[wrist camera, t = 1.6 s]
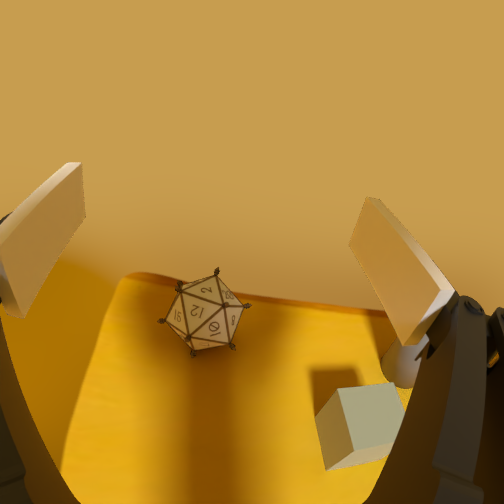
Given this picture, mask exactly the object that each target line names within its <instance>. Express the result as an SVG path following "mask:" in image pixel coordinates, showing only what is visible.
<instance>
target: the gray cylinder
mask: <svg viewBox="0 0 504 504" xmlns="http://www.w3.org/2000/svg"><path fill="white" fill-rule="evenodd" d="M428 341H429V339H428V337H427V335H426V334H425V335H424V336H423V338H422V339H421V340H420V342H419V343H418V344H417V345H409V346H402V344H401V342H400V340H399V338H398V336H397V338H396V339H395V341H394V342H393V344H392V345H391V346H390V348H389V349H388V350H387V352H386V353H385V355H384V356H383V357H382V360H381V369H382V372H383V374H384V376H385V377H386V379H387V380H388V381H389V382H390V383H391V382H394V385H395V386H396V387H399V388H403V389H409V388H412V387H414V384H415V380H416V377H417V373H418V370H419V366H420V362H421V358H422V357H421V358H419V359H418V360H417V361H415V360H414V359H415V358H416V356H417V355H418V354H419V353H420V351H421V350H422V349H423V348H424V346H425V345H426V344H427V342H428Z"/></svg>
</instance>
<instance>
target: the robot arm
mask: <svg viewBox="0 0 504 504" xmlns="http://www.w3.org/2000/svg"><path fill="white" fill-rule="evenodd" d="M85 217H86V216H85V205H84V192H83V176H82V163H71V162H68V163H66V164H65V165H64V166H63V167H61V168H60V169H59V170H58V171H57V172H55V173H54V174H53V175H52V176H51V177H50V178H48V179H47V180H46V181H45V182H44V183H43V184H42V185H41V186H40V187H38V188H37V189H36V190H35V191H34V192H33V193H32V194H31V195H30V196H29V197H27V198H26V199H25V200H24V201H23V202H22V203H21V204H20V205H19V206H18V207H17V208H16V209H15V210H14V211H13V212H11V213H10V214H8V215H6V216H5V217H3V218H2V219H1V220H0V303H1V302H2V304H3V306H4V308H5V311H6V313H7V315H11V316H15V317H19V318H24V317H25V315H26V313H27V312H28V310H29V308H30V306H31V304H32V302H33V300H34V298H35V297H36V295H37V292H38V291H39V289H40V288H41V286H42V284H43V282H44V281H45V279H46V277H47V276H48V274H49V272H50V271H51V269H52V267H53V266H54V264H55V262H56V261H57V259H58V258H59V256H60V254H61V253H62V251H63V250H64V248H65V247H66V245H67V244H68V242H69V241H70V239H71V238H72V236H73V235H74V233H75V232H76V230H77V229H78V227H79V226H80V225H81V223H82V222H83V220H84V219H85ZM349 246H350V248H351V249H352V251H353V253H354V255H355V257H356V258H357V260H358V262H359V264H360V265H361V267H362V269H363V271H364V273H365V274H366V276H367V278H368V280H369V281H370V283H371V285H372V287H373V289H374V291H375V293H376V295H377V297H378V298H379V300H380V302H381V304H382V306H383V308H384V310H385V312H386V314H387V316H388V318H389V320H390V322H391V324H392V326H393V328H394V330H395V332H396V334H397V336H398V338H399V340H400V342H401V344H402V346H409V345H417V344H418V343H419V342H420V340H421V339H422V338H423V336H424V335H425V334H426V335H427V337H428V339H429V341H428V342H427V344H426V345H425V346H424V348H423V349H422V350H421V351H420V353H419V354H418V355H417V356H416V358H415V359H414V360H415V361H417V360H418V359H419V358H421V357H422V358H421V362H420V366H419V370H418V373H417V377H416V380H415V384H414V387H413V390H412V393H411V397H410V400H409V403H408V406H407V409H406V412H405V415H404V417H403V420H402V423H401V426H400V428H399V431H398V434H397V436H396V439H395V441H394V444H393V446H392V449H391V451H390V454H389V456H388V458H387V461H386V463H385V465H384V467H383V470H382V472H381V474H380V476H379V478H378V480H377V482H376V484H375V486H374V488H373V490H372V492H371V494H370V496H369V497H368V498H367V500H366V501H365V502H364V503H362V504H504V308H500V307H499V308H497V309H496V310H495V312H494V313H493V314H492V316H488V315H485V313H484V310H483V309H482V307H481V306H480V305H479V304H478V302H477V301H475V300H474V299H472V298H470V297H468V296H459V294H458V293H457V292H456V290H455V289H454V288H453V286H452V285H451V284H450V282H449V281H448V280H447V278H446V277H445V276H444V274H443V273H442V272H441V270H439V268H438V266H437V265H436V264H435V263H434V261H433V260H432V259H431V258H430V257H429V256H428V254H427V253H426V252H425V251H424V250H423V248H422V247H421V246H420V245H419V244H418V242H417V241H416V240H415V239H414V238H413V236H412V235H411V234H410V233H409V232H408V230H407V229H406V228H405V227H404V226H403V225H402V224H401V222H400V221H399V220H398V219H397V218H396V217H395V216H394V215H393V213H392V212H391V211H390V210H389V209H388V208H387V207H386V206H385V205H384V204H383V203H382V202H381V200H380V199H375V198H370V197H366V200H365V202H364V205H363V208H362V211H361V213H360V216H359V219H358V221H357V224H356V227H355V229H354V232H353V235H352V237H351V240H350V242H349ZM497 353H498V354H499V357H498V358H497V359H496V360H495V361H494V362H493V363H492V364H491V366H490V365H489V362H490V361H491V360H492V359H493V358H494V356H495V355H496V354H497ZM0 504H81V503H80V502H79V501H78V500H77V499H76V498H75V497H74V495H73V494H72V492H71V491H70V489H69V488H68V486H67V484H66V483H65V481H64V479H63V478H62V476H61V474H60V473H59V471H58V469H57V467H56V465H55V464H54V462H53V460H52V458H51V456H50V454H49V452H48V450H47V449H46V446H45V444H44V442H43V440H42V438H41V436H40V434H39V432H38V430H37V427H36V425H35V423H34V421H33V418H32V416H31V414H30V411H29V409H28V406H27V404H26V401H25V399H24V396H23V394H22V391H21V388H20V385H19V382H18V380H17V376H16V373H15V370H14V367H13V364H12V361H11V357H10V354H9V350H8V347H7V343H6V339H5V335H4V332H3V327H2V323H1V318H0Z"/></svg>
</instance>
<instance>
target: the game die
mask: <svg viewBox="0 0 504 504" xmlns="http://www.w3.org/2000/svg"><path fill="white" fill-rule="evenodd" d="M219 272H220V271H219V267H218V268H216V269H215V272H214V275H213V276H210V277H207V278H204V279H200V280H197V281H194V282H190V283H187V284H184V285H183V283H182V281H178V280H177V284H178V285H179V286H175V291H177V292H178V293H177V295H176V297H175V299H174V301H173V303H172V305H171V307H170V310H169V312H168V314H167V316H166V318H165V319H163V318H162V319H159V320H158V321H157V322H158V323H164V322H166V323H167V324H168V325H169V326H170V327H171V328H172V329H173V330H174V331H175V332H176V333H177V334H178V336H179V337H180V338H181V339H182V340H183V341H184V342H185V343H186V344H187V345H188V346H189V347H190V348H191V349H192V351H191V357H192V358H193V357H194V356H196V355H195V354H196V350H202V349H208V348H213V347H219V346H224V345H229V348H231V349H232V350H236V348H235V345H234V344H232V343H231V342H232V339H233V336H234V333H235V331H236V328H237V325H238V323H239V320H240V317H241V314H242V312H243V309H244V308H246V309H247V308H249V307H250V306H251V305H252V304H249V303H247V304H245V305H243V304H242V303H241V302H240V301H239V300H238V299H237V298H236V296H235V295H234V294H233V293H232V292H231V291H230V290H229V289H228V288H227V287H226V285H225V284H224V283H223V282H222V281H221V280H220V279H219V278H218V276H217V275H218V274H219Z"/></svg>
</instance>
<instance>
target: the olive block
mask: <svg viewBox="0 0 504 504" xmlns="http://www.w3.org/2000/svg"><path fill="white" fill-rule="evenodd" d="M404 415H405V411H404V408H403V406H402V403H401V400H400V398H399V395H398V392H397V390H396V387H395V385H394V382H391V383H384V384H376V385H368V386H359V387H349V388H337V390H336V391H335V392H334V394H333V395H332V396H331V397H330V399H329V400H328V401H327V403H326V404H325V405H324V406H323V408H322V409H321V410H320V411H319V413H318V414H317V415H316V416H315V422H316V426H317V431H318V436H319V440H320V445H321V450H322V455H323V459H324V464H325V469H326V471H328V470H334V469H340V468H345V467H350V466H355V465H359V464H364V463H368V462H372V461H376V460H380V459H382V458H384V457H385V456H387V455H388V454H390V451H391V449H392V446H393V444H394V441H395V439H396V436H397V434H398V431H399V428H400V426H401V423H402V420H403V417H404Z"/></svg>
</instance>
